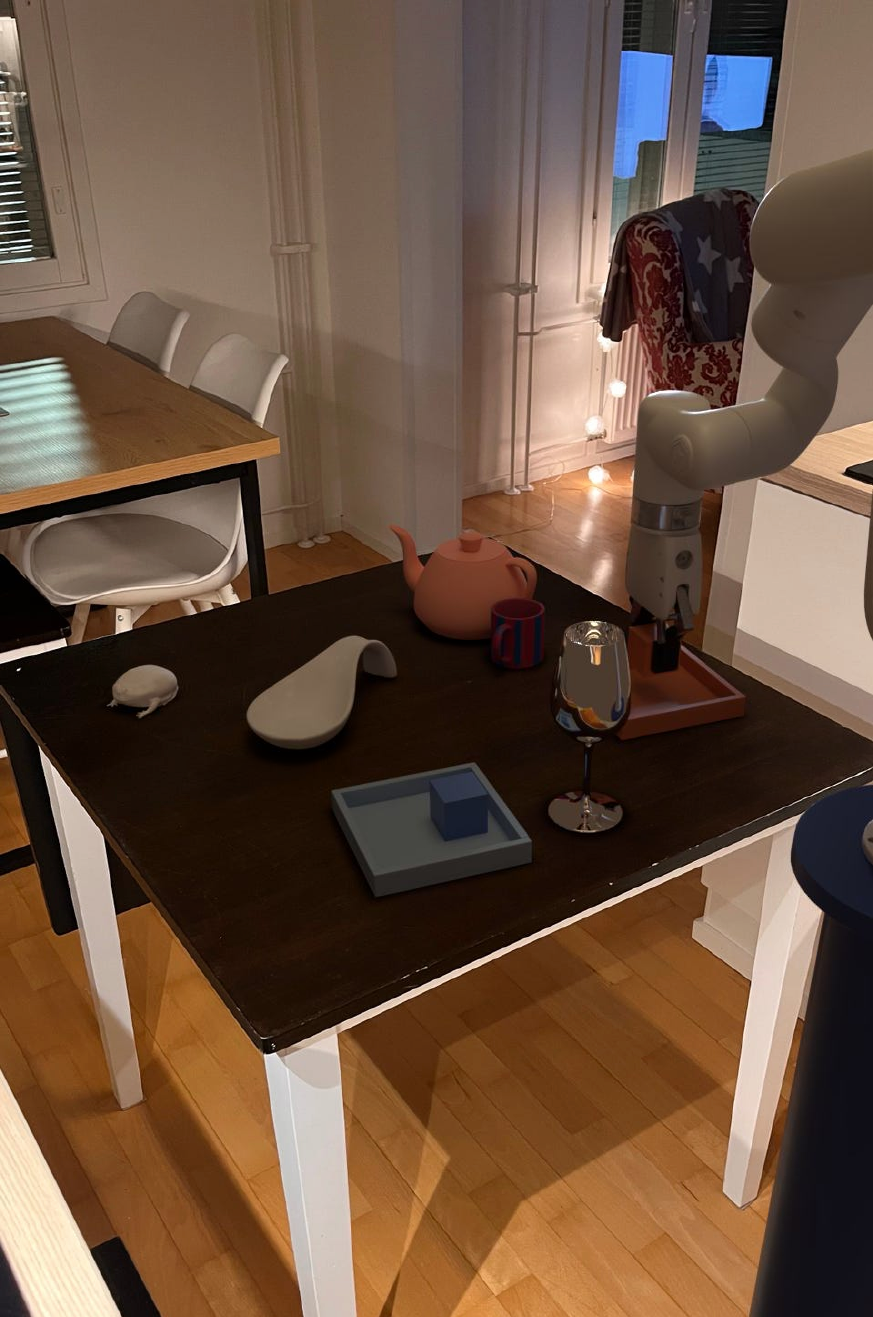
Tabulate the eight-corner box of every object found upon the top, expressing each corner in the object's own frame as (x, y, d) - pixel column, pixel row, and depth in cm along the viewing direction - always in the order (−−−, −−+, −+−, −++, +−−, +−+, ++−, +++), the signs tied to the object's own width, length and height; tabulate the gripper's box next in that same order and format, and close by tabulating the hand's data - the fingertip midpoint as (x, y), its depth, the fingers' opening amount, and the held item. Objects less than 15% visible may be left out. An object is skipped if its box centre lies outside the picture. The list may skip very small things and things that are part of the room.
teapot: (366, 629, 160) (361, 541, 153) (420, 588, 171) (417, 504, 165) (516, 658, 151) (517, 566, 144) (562, 613, 163) (565, 525, 156)
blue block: (488, 832, 117) (488, 794, 114) (445, 841, 116) (444, 803, 113) (472, 809, 120) (471, 771, 118) (430, 817, 119) (429, 780, 117)
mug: (552, 653, 152) (554, 604, 148) (513, 684, 145) (514, 633, 141) (507, 642, 155) (508, 593, 152) (467, 671, 148) (466, 621, 144)
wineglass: (534, 802, 122) (538, 624, 112) (601, 786, 124) (611, 610, 114) (567, 842, 116) (575, 657, 105) (638, 824, 118) (652, 642, 108)
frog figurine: (140, 721, 139) (135, 692, 137) (100, 706, 143) (95, 678, 141) (188, 694, 145) (184, 666, 143) (149, 680, 148) (145, 653, 146)
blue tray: (531, 862, 113) (532, 841, 112) (375, 897, 109) (373, 875, 108) (474, 782, 126) (474, 761, 125) (332, 810, 122) (331, 790, 120)
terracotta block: (678, 671, 138) (682, 636, 135) (644, 677, 137) (646, 642, 134) (660, 655, 141) (663, 620, 139) (626, 661, 140) (628, 626, 138)
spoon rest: (317, 773, 128) (312, 715, 124) (229, 750, 133) (221, 693, 129) (421, 682, 146) (419, 629, 142) (339, 664, 151) (336, 612, 147)
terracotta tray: (743, 715, 137) (746, 696, 135) (621, 740, 133) (622, 720, 131) (677, 660, 149) (679, 642, 148) (564, 681, 145) (565, 662, 144)
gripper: (737, 531, 123) (718, 687, 133) (660, 483, 137) (648, 628, 146) (672, 541, 121) (658, 698, 131) (601, 491, 135) (593, 637, 144)
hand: (653, 659), depth 139 cm, fingers closed on terracotta block, 4 cm apart
